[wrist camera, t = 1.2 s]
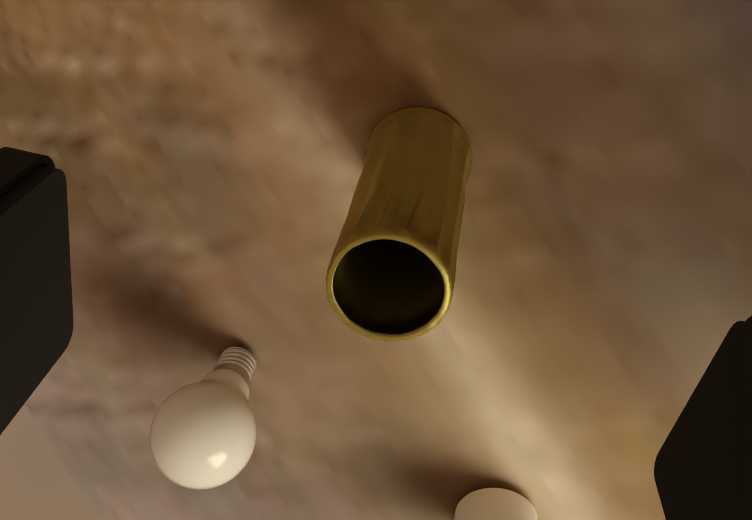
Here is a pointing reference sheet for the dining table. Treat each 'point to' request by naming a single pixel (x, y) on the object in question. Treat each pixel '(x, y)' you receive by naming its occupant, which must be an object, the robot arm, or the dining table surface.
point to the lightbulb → (207, 425)
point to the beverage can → (494, 506)
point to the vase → (402, 228)
